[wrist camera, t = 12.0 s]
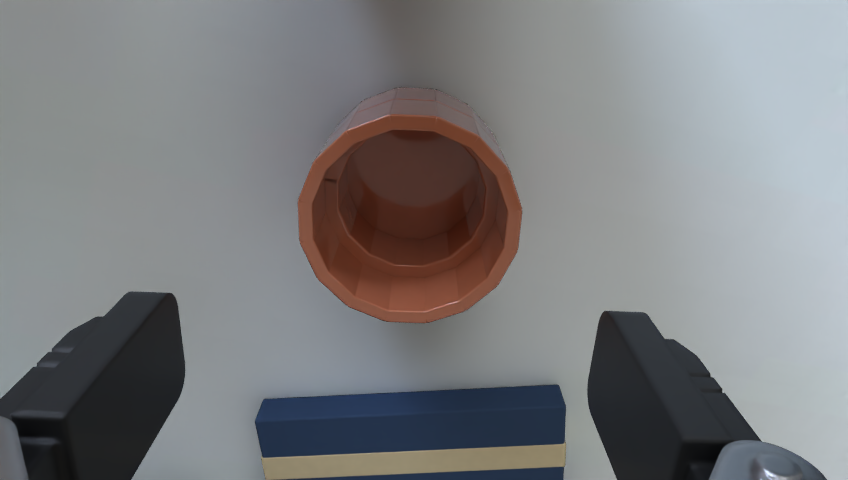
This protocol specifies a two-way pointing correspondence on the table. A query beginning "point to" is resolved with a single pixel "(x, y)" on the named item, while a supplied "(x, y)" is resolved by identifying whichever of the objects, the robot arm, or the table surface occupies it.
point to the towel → (416, 435)
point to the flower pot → (410, 208)
